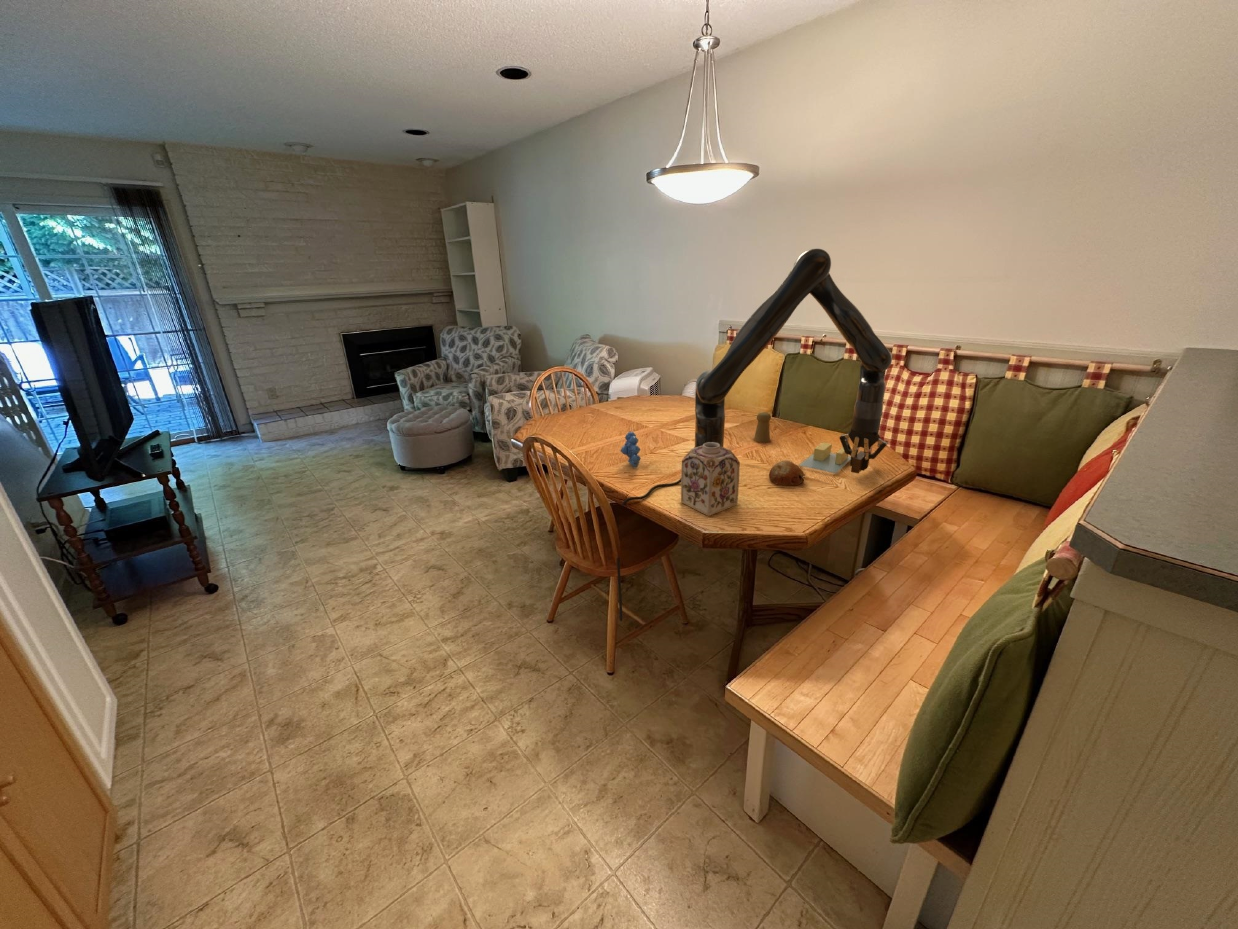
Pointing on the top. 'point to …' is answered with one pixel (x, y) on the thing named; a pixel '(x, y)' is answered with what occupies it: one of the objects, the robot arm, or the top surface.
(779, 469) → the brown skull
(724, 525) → the top surface
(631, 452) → the grapes
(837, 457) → the butter slice
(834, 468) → the butter dish
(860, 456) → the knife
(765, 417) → the cork
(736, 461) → the decorative jar
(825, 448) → the butter
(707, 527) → the top surface
